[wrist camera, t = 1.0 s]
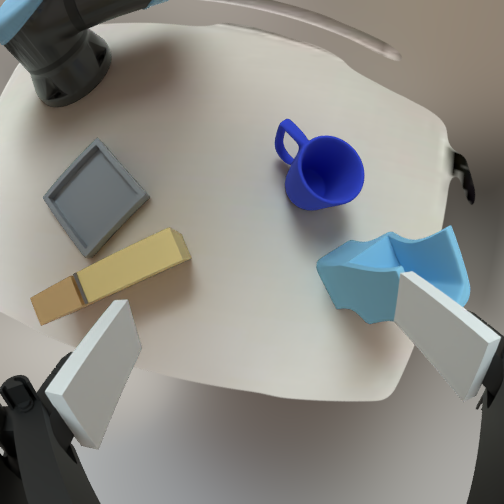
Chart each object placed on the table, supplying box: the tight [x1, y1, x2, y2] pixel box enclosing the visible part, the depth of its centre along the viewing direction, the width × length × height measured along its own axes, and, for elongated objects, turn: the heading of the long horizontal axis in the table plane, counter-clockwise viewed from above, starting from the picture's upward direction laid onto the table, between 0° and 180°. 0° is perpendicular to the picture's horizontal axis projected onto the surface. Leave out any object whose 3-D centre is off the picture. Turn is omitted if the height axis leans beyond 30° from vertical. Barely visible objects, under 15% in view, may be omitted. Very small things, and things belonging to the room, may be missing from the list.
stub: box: [30, 276, 112, 326], centre depth 31 cm, size 7×4×10 cm, turn 114°
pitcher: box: [317, 226, 470, 324], centre depth 30 cm, size 8×8×20 cm
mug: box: [275, 119, 364, 210], centre depth 35 cm, size 8×12×10 cm
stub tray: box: [43, 137, 150, 258], centre depth 35 cm, size 12×12×2 cm
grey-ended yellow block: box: [73, 227, 191, 304], centre depth 32 cm, size 12×4×10 cm, turn 114°
